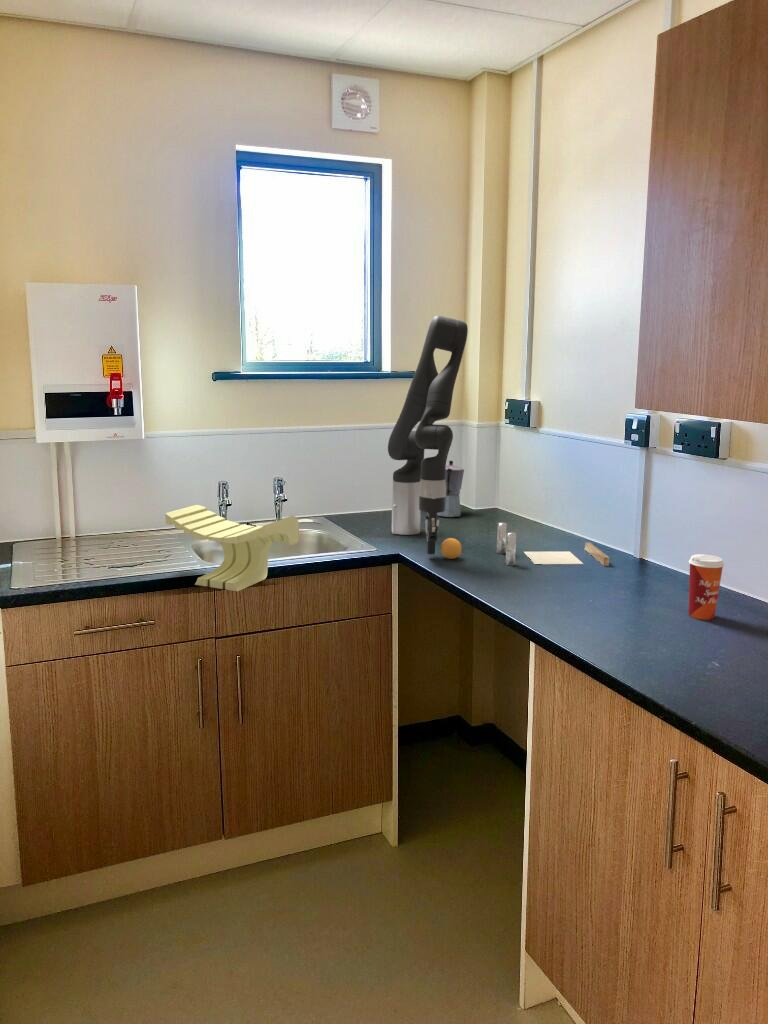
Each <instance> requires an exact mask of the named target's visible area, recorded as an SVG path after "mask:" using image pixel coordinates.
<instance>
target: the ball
mask: <svg viewBox="0 0 768 1024" xmlns="http://www.w3.org/2000/svg"><path fill="white" fill-rule="evenodd" d="M462 551H463V550H462V544H461V542H460V541H459V540H458V539H456V538H453V537H449V538H446V539H445V540H443V542H442V543H441V545H440V552H441V554H442V556H443V557H444V558H446V559H448V560H449V559H450V560H453V559H456V558H458V557H459V556H461V553H462Z"/></svg>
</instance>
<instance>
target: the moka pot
mask: <svg viewBox="0 0 768 1024" xmlns="http://www.w3.org/2000/svg"><path fill="white" fill-rule="evenodd" d="M448 463H449V464H448V465H446V469H445V483H446V502H445V511H444V512H441V513H440V512H438V513H437V516H438V517H444V518H445V517H446V518H457V517H461V514H462V513H461V502H460V501H461V500H460V491H461V489H462V485H463V484H462V483H463V479H464V473H465V469H464V468H462V467H459V466H456V465H454V464H453V463H454V461H453V460H448Z"/></svg>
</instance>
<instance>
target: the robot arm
mask: <svg viewBox="0 0 768 1024" xmlns="http://www.w3.org/2000/svg"><path fill="white" fill-rule="evenodd" d="M468 331H469V330H468V325H467V323H466V322H465V321H462V320H459V319H456V318H452V317H447V316H443V315H435V316H434V317H432V319H431V321H430V323H429V326H428V330H427V331H426V332H427V333H426V335H425V341H424V344H423V346H422V350H421V355H420V358H419V361H418V363H417V367H416V369H415V371H414V372H415V373H414V375H413V377H412V380H411V383H410V385H409V388H408V391H407V395H406V397H405V401H404V403H403V406H402V409H401V412H400V414H399V417H398V418H397V421H396V422H395V425H394V427H393V429H392V431H391V434H390V436H389V438H388V443H387V444H388V445H387V453H388V456H389V457H390V459H392V460H394V461H406V463H405V464H404V465H403V466H402V467H400V468H398V469H396V470H394V472H393V473H392V502H391V533H392V535H401V536H402V535H404V536H409V535H410V536H412V535H418V534H421V515H422V514H421V512H422V513H426V516H424V523H425V525H424V526H425V527H424V531H425V536H426V541H427V542H426V543H427V544H426V552H427V555H435V554H436V542H437V540H438V534H439V525H440V518H439V516H438V515H437V513H438V512H440V513H441V512H444V511H445V502H446V483H445V469H446V466H447V461H448V457H449V456H448V455H449V454H450V453H449V452H450V449H451V447H452V446H451V445H452V442H453V439H454V433H453V429H451V427H450V426H449V425H447V424H434V423H435V422H438V421H442V420H444V419H447V418H448V417H449V416H450V414H451V408H452V401H453V394H454V390H455V389H454V388H455V384H456V381H457V377H458V373H459V370H460V367H461V363H462V359H463V355H464V351H465V347H466V343H467V340H468V339H467V338H468V334H469V333H468ZM436 349H437V350H442V351H447V352H449V353H451V355H450V358H449V360H448V362H447V363H446V365H445V366H444V367H443V369H442V370H440V372H439V373H438V369H437V367H436V363H435V362H436V361H435V357H434V352H435V350H436ZM417 424H418V425H417ZM416 426H417V428H416V430H414V428H415V427H416ZM425 450H437V451H438V453H436V455H434V456H428V457H425Z"/></svg>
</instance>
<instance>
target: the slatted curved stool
mask: <svg viewBox="0 0 768 1024" xmlns="http://www.w3.org/2000/svg"><path fill="white" fill-rule="evenodd" d="M165 525H172V526H173V525H174V529H175V530H176V529H177V530H183V534H186V535H191V534H192V539H198V540H203V541H204V540H208V541H211V542H219V544H220V546H221V548H222V550H223V555H224V558H223V561H222V563H221V564H220V565H219V566H217V567H216V568H215V569H213V570H212V571H210V572H208V573H206V574H204V575H202V576H199V577H197V579H196V582H195V583H194V585H195V586H202V587H209V588H214V589H221V590H223V589H225V590H227V591H234V592H239V591H242V590H244V589H246V588H248V587H250V586H253V585H255V584H257V583H259V582H261V581H264V580H266V578H267V576H268V570H269V569H268V566H269V565H268V564H269V557H270V556H269V555H270V551H271V547H272V545H273V544H272V542H278V543H282V542H283V543H284V544H286V545H290V546H293V545H295V544H297V543H299V542H300V523H299V520H298V518H297V517H296V516H295V515H291V516H288V517H285V518H282V519H278V520H276V521H273V522H271V523H268V524H265V525H257V526H255V525H248V524H241V523H238V522H234V521H232V520H228V519H227V520H226V517H222V516H220V515H218V514H217V513H216V512H213V511H211V510H209V509H208V508H207V507H205V506H203V505H200V504H195V505H189V506H187V507H184V508H179V509H176V510H172V511H168V512H165Z"/></svg>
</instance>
